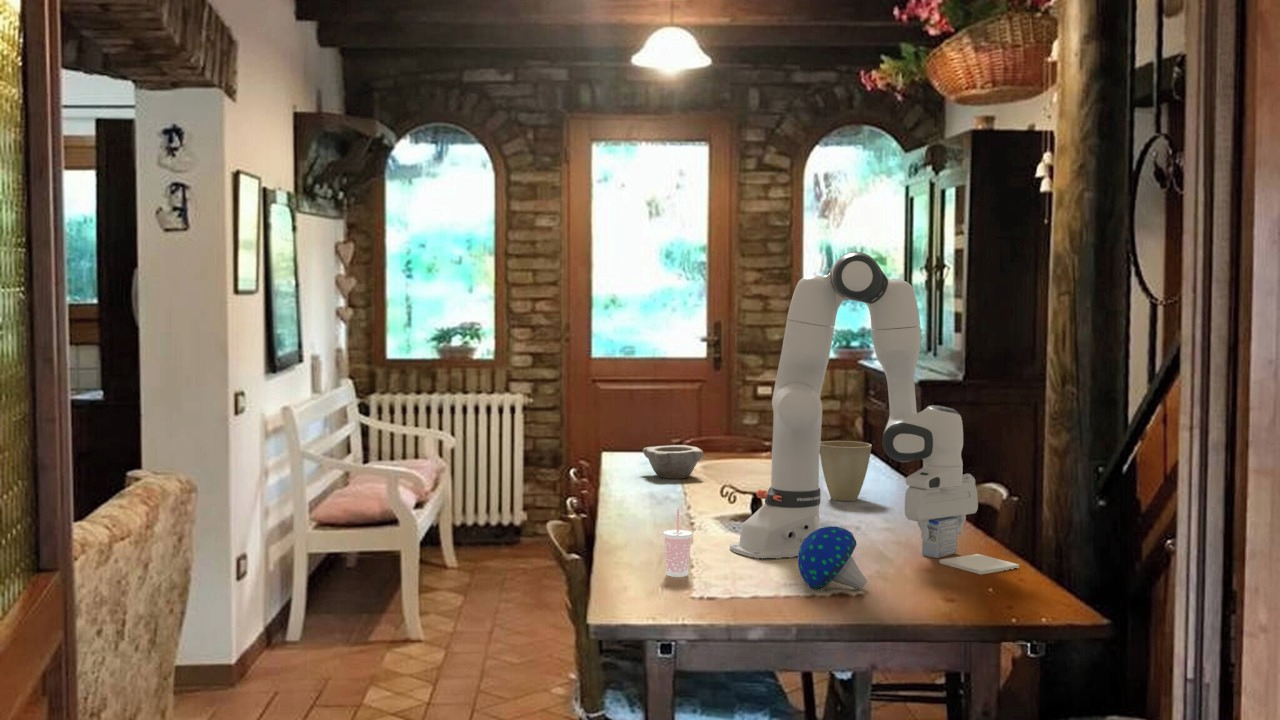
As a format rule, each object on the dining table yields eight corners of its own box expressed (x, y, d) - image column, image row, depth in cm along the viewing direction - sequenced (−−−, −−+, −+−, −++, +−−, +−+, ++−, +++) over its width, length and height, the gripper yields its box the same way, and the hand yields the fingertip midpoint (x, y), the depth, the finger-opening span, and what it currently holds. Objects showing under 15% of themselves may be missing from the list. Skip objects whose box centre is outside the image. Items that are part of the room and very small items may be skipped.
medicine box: (940, 550, 288) (941, 513, 288) (957, 553, 285) (958, 516, 285) (921, 555, 283) (922, 518, 282) (938, 558, 280) (939, 521, 279)
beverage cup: (662, 570, 266) (663, 506, 265) (691, 571, 265) (692, 506, 264) (662, 577, 260) (663, 511, 259) (691, 578, 259) (692, 512, 258)
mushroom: (891, 558, 245) (831, 511, 246) (849, 615, 243) (789, 568, 244) (876, 557, 259) (819, 512, 260) (836, 611, 257) (779, 566, 258)
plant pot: (881, 500, 352) (882, 445, 351) (843, 505, 343) (844, 448, 342) (844, 492, 364) (845, 439, 363) (806, 497, 356) (808, 442, 354)
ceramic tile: (980, 574, 265) (980, 570, 265) (939, 563, 276) (939, 559, 275) (1019, 568, 272) (1019, 564, 272) (977, 557, 282) (977, 553, 282)
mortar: (639, 473, 395) (639, 445, 394) (689, 471, 400) (690, 443, 399) (654, 482, 379) (654, 452, 378) (706, 480, 384) (707, 450, 383)
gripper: (964, 471, 291) (963, 529, 292) (900, 478, 280) (899, 538, 281) (985, 474, 285) (983, 533, 286) (920, 482, 275) (919, 543, 275)
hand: (941, 536), depth 283 cm, fingers closed on medicine box, 8 cm apart
